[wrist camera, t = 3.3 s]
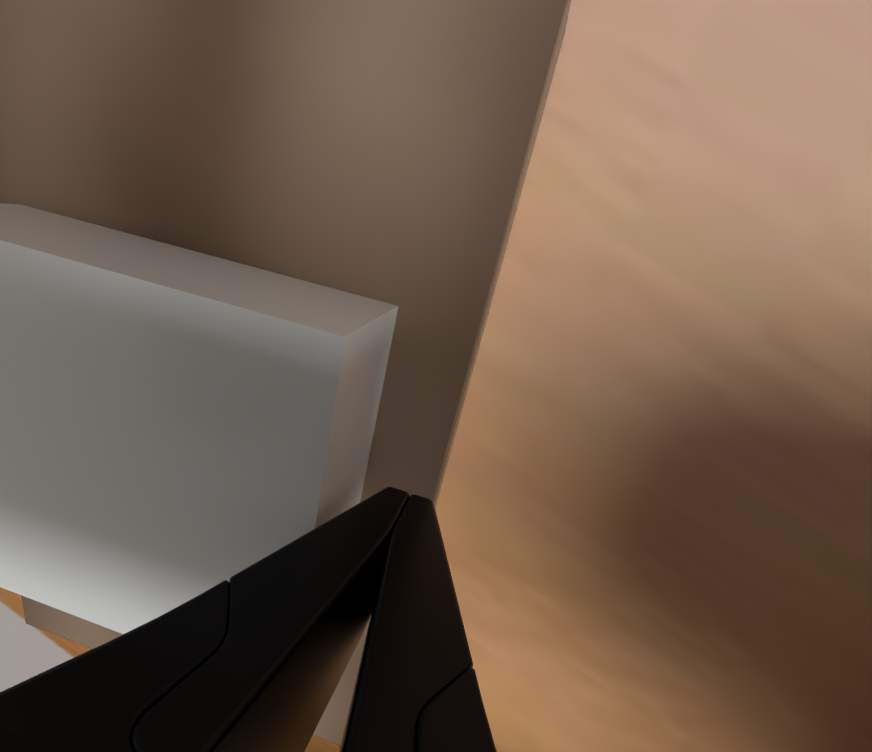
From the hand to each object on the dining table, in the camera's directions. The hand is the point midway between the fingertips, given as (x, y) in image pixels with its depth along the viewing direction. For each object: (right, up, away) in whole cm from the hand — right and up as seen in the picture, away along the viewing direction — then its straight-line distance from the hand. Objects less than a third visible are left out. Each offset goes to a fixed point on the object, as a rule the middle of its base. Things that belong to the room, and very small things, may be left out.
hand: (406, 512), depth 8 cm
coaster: (-5, +2, +2) cm, 5 cm away
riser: (-4, +3, +4) cm, 7 cm away
